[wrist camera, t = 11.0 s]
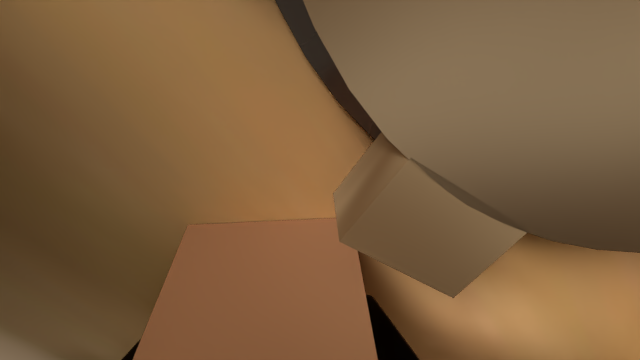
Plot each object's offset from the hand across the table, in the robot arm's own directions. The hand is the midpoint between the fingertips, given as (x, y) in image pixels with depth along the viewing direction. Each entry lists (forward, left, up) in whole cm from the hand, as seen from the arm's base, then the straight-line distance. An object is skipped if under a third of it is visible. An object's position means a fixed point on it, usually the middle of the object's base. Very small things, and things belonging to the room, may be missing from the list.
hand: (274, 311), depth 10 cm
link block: (0, 0, -1) cm, 1 cm away
